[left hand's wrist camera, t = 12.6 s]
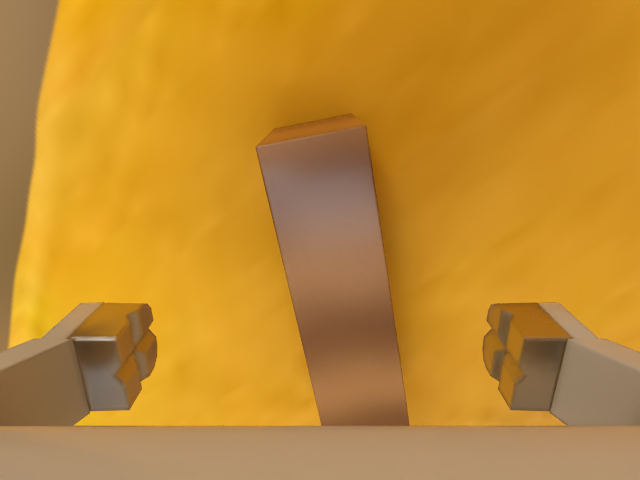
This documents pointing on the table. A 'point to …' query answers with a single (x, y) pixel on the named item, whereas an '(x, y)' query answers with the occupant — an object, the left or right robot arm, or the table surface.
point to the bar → (336, 268)
